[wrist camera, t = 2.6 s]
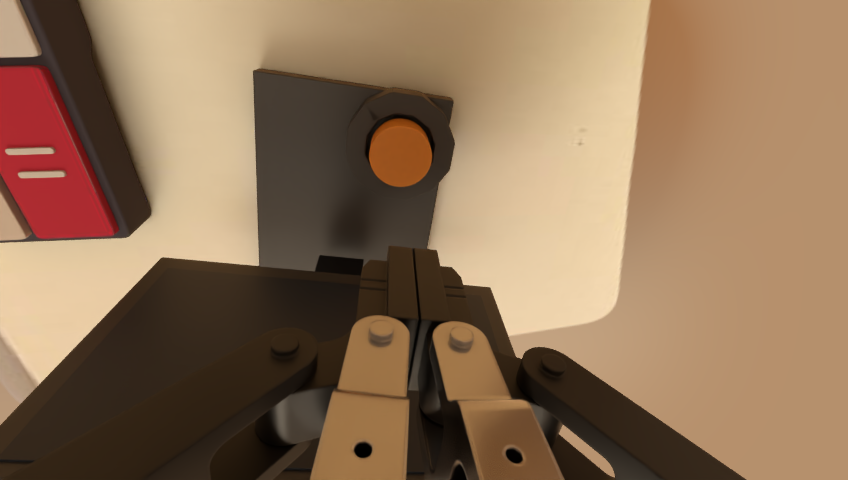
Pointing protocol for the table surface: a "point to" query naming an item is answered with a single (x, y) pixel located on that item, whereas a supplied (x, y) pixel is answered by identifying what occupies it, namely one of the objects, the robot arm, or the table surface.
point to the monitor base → (338, 169)
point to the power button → (400, 152)
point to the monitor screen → (197, 347)
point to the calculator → (59, 133)
